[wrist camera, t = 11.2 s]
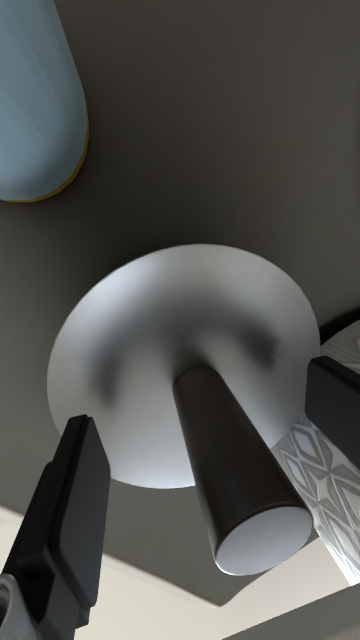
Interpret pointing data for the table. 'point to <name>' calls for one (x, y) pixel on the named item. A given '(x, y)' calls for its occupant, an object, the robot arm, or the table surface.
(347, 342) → the planter
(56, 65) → the bottle
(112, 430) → the lid
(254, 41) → the table surface
